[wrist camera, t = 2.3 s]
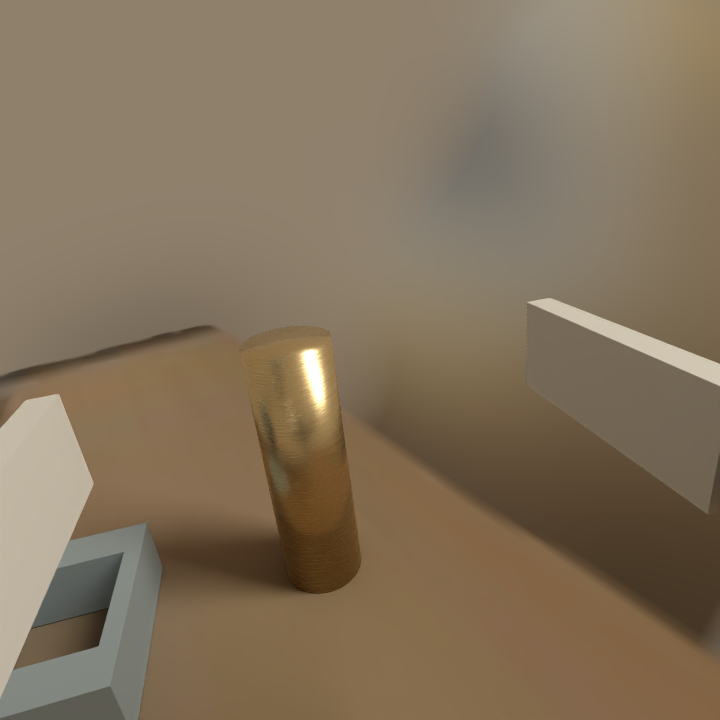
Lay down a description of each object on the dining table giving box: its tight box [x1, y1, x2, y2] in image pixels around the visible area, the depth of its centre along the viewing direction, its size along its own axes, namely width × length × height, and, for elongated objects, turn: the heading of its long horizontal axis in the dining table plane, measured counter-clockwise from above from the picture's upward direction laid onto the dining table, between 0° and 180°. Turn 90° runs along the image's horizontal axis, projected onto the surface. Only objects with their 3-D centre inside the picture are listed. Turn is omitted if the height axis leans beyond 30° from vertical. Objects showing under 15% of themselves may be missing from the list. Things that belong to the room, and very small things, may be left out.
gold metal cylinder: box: [239, 326, 361, 593], centre depth 26 cm, size 4×4×14 cm
